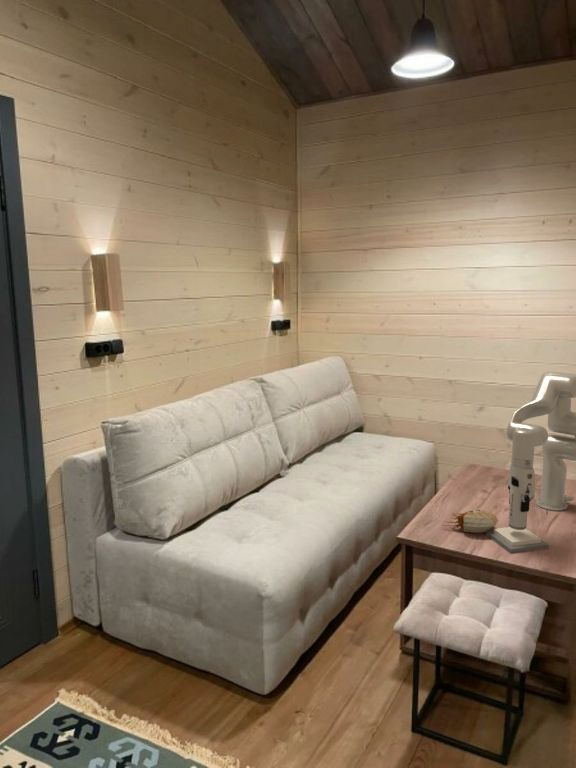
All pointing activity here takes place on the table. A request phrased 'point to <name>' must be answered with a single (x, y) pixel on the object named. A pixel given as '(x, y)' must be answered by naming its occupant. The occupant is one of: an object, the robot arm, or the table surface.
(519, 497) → the travel mug
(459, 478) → the table surface
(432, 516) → the table surface
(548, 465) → the robot arm
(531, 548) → the pedestal
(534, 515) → the table surface
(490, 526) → the nautilus shell
